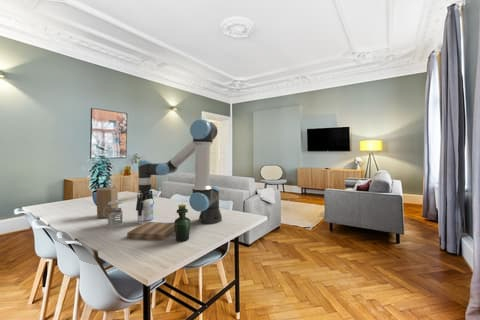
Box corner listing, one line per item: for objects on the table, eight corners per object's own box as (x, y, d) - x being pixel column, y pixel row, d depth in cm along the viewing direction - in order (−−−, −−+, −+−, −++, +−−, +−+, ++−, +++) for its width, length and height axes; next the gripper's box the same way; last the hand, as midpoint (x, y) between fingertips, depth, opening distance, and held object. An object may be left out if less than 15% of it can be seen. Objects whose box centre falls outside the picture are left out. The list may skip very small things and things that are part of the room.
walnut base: (177, 228, 130) (177, 223, 130) (162, 240, 112) (162, 234, 112) (146, 226, 132) (145, 221, 132) (127, 238, 114) (127, 232, 114)
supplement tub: (154, 222, 139) (154, 200, 139) (138, 225, 134) (138, 202, 133) (151, 218, 147) (151, 197, 147) (136, 221, 142) (136, 199, 141)
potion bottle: (190, 241, 110) (190, 206, 109) (174, 243, 108) (173, 207, 107) (189, 235, 118) (189, 203, 117) (174, 237, 116) (173, 204, 115)
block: (104, 214, 158) (103, 187, 158) (118, 214, 159) (118, 187, 158) (96, 218, 148) (95, 189, 148) (111, 218, 149) (111, 189, 148)
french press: (126, 224, 137) (126, 185, 136) (106, 229, 128) (105, 187, 127) (121, 220, 143) (120, 183, 142) (101, 225, 135) (100, 185, 134)
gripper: (148, 181, 151) (149, 213, 152) (128, 186, 129) (129, 223, 130) (158, 181, 150) (159, 213, 151) (140, 186, 128) (141, 224, 129)
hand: (145, 218), depth 141 cm, fingers closed on supplement tub, 9 cm apart
